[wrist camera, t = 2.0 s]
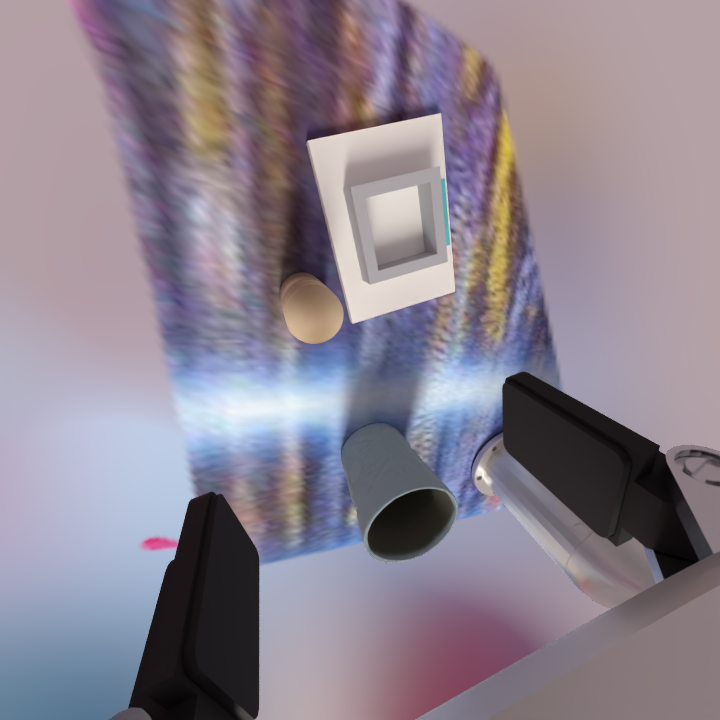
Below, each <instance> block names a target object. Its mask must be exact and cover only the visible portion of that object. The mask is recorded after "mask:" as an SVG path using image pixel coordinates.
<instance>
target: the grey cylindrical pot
mask: <svg viewBox="0 0 720 720" xmlns="http://www.w3.org/2000/svg"><path fill="white" fill-rule="evenodd" d="M341 460H342V465H343V468H344V472H345V475H346V479H347V483H348V487H349V491H350V495H351V498H352V502H353V505H354V508H355V510H356V511H357V519H358V522H359V527H360V531H361V535H362V539H363V543H364V547H365V549H366V551H367V552H368V553H369V555H370V556H371V557H373V558H374V559H376V560H379V561H381V562H405V561H408V560H412V559H414V558H416V557H418V556H421V555H423V554H425V553H426V552H428V551H429V550H431V549H432V548H434V547H435V546H436V545H438V544H439V543H440V542H441V541H442V540H443V539H444V538H445V536H446V535H447V534H448V533H449V531H450V530H451V528H452V526H453V525H454V523H455V520H456V517H457V512H458V505H457V501H456V499H455V496H454V495H453V494H452V492H451V491H450V490H449V489H448V488H447V487H446V485H445V484H444V483H443V482H442V481H441V480H440V479H439V478H438V477H437V475H436V474H435V473H434V472H433V471H432V470H431V468H430V467H429V466H428V465H427V464H425V463H424V462H423V461H422V459H421V458H420V457H419V456H418V455H417V453H416V452H415V450H413V449H412V448H411V447H410V444H409V443H408V442H407V440H406V439H405V438H404V437H403V436H402V435H401V433H400V432H399V431H398V430H397V429H395V428H394V427H393V426H391V425H388V424H385V423H374V424H368V425H367V426H364V427H362V428H360V429H358V430H357V431H356V432H354V433H353V434H352V435H351V436H350V437H349V439H347V441H346V442H345V444H344V446H343V449H342V456H341Z"/></svg>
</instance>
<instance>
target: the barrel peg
mask: <svg viewBox="0 0 720 720" xmlns="http://www.w3.org/2000/svg"><path fill="white" fill-rule="evenodd" d="M280 300H281V304H282V308H283V312H284V316H285V320H286V323H287V326H288V328H289V330H290V332H291V333H292V334H293V335H294V336H295V337H296V338H297V339H299V340H301V341H303V342H306V343H312V344H316V343H322V342H325V341H327V340H329V339H330V338H332V337H333V336H334V335H335V334H336V333H337V332H338V330H339V329H340V327H341V325H342V322H343V308H342V305H341V302H340V301H339V299H338V298H337V297H336V295H335V294H334V293H332V292H331V291H330V290H329V289H328V288H327V287H326V286H325V285H324V284H323V283H322V282H321V281H320V280H318V279H317V278H316V277H315V276H313V275H311V274H309V273H303V272H301V273H295V274H293V275H291V276H289V277H288V278H287V279H286V280H285V281H284V282H283V284H282V286H281V289H280Z"/></svg>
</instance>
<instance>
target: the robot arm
mask: <svg viewBox="0 0 720 720" xmlns="http://www.w3.org/2000/svg"><path fill="white" fill-rule="evenodd" d="M502 392H503V432H502V433H500V434H499V435H497V436H495V437H494V438H493V439H491V440H490V441H489V442H488V443H487V444H486V445H485V446H484V447H483V448H482V449H481V451H480V452H479V453H478V455H477V457H476V459H475V461H474V464H473V467H472V481H473V483H474V485H475V486H476V487H477V488H478V490H479V491H480V492H482V493H483V494H486V495H491V496H496V495H497V497H498V498H499V499H500V500H501V501H502V502H503V504H504V505H505V506H506V507H507V508H508V509H509V510H510V511H511V513H512V514H513V515H514V516H515V517H516V518H517V520H518V521H519V522H520V523H521V524H522V525H523V526H524V528H525V529H526V530H527V531H528V532H529V533H530V534H531V536H532V537H533V538H534V539H535V540H536V541H537V542H538V544H540V546H541V547H542V548H543V549H544V550H545V552H546V553H547V554H548V555H549V556H550V557H551V559H552V560H553V561H554V562H555V563H556V564H557V565H558V566H559V568H560V569H561V570H562V571H563V572H564V573H565V575H566V576H567V577H568V578H569V579H570V580H571V581H572V582H573V584H574V585H575V586H576V587H577V588H578V589H579V590H580V591H581V592H582V593H584V594H585V595H586V596H587V597H589V598H590V599H592V600H593V601H595V602H597V603H599V604H601V605H603V606H605V607H608V608H611V609H610V610H609V611H607V612H605V613H603V614H602V615H600V616H598V617H596V618H594V619H592V620H591V621H589V622H587V623H585V624H583V625H582V626H580V627H578V628H576V629H575V630H573V631H571V632H569V633H567V634H566V635H564V636H562V637H560V638H559V639H557V640H555V641H553V642H551V643H550V644H548V645H546V646H544V647H543V648H541V649H539V650H537V651H536V652H534V653H532V654H530V655H528V656H527V657H525V658H523V659H521V660H520V661H518V662H516V663H514V664H512V665H511V666H509V667H507V668H506V669H504V670H502V671H500V672H498V673H497V674H495V675H493V676H491V677H490V678H488V679H486V680H484V681H483V682H481V683H479V684H477V685H475V686H474V687H472V688H470V689H468V690H467V691H465V692H463V693H461V694H460V695H458V696H456V697H454V698H452V699H451V700H449V701H447V702H445V703H444V704H442V705H440V706H438V707H437V708H435V709H433V710H431V711H430V712H428V713H426V714H425V715H423V716H421V717H419V718H417V719H416V720H720V451H717V450H713V449H710V448H707V447H701V446H695V445H681V446H676V447H673V448H671V449H670V450H668V451H667V453H666V455H665V454H663V453H661V452H660V451H659V447H660V446H659V445H657V444H655V443H654V442H652V441H650V440H648V439H646V438H645V437H643V436H641V435H639V434H637V433H635V432H633V431H632V430H630V429H628V428H627V427H625V426H623V425H621V424H619V423H617V422H616V421H614V420H612V419H610V418H608V417H607V416H605V415H603V414H601V413H599V412H598V411H596V410H594V409H592V408H590V407H589V406H587V405H585V404H583V403H581V402H580V401H578V400H576V399H574V398H572V397H570V396H569V395H567V394H565V393H563V392H561V391H560V390H558V389H556V388H554V387H552V386H551V385H549V384H547V383H545V382H543V381H542V380H540V379H538V378H536V377H534V376H532V375H531V374H529V373H527V372H520V373H518V374H515V375H512V376H510V377H508V378H506V380H505V383H504V384H503V387H502ZM258 711H259V555H258V552H257V549H256V547H255V545H254V544H253V542H252V541H251V539H250V538H249V536H248V534H247V533H246V531H245V530H244V528H243V526H242V525H241V523H240V522H239V520H238V518H237V517H236V515H235V514H234V512H233V510H232V509H231V507H230V506H229V504H228V503H227V501H226V499H225V498H224V496H223V495H222V494H219V495H216V494H215V493H214V492H209V493H207V494H204V495H202V496H199V497H196V498H194V499H191V500H190V502H189V504H188V508H187V512H186V516H185V520H184V523H183V527H182V532H181V535H180V539H179V543H178V547H177V551H176V555H175V559H174V560H172V561H171V562H170V563H169V565H168V566H167V569H166V572H165V575H164V579H163V583H162V586H161V590H160V593H159V597H158V601H157V604H156V608H155V612H154V615H153V619H152V623H151V626H150V630H149V634H148V638H147V641H146V645H145V649H144V652H143V656H142V660H141V663H140V667H139V671H138V675H137V678H136V682H135V685H134V690H133V693H132V697H131V700H130V704H129V707H128V709H126V710H123V711H121V712H119V713H117V714H116V715H114V716H113V717H112V718H110V719H109V720H254V719H256V717H257V716H258Z"/></svg>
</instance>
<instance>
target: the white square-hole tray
mask: <svg viewBox="0 0 720 720" xmlns="http://www.w3.org/2000/svg"><path fill="white" fill-rule="evenodd" d="M306 144H307V148H308V152H309V156H310V160H311V164H312V168H313V173H314V177H315V181H316V185H317V189H318V193H319V197H320V201H321V205H322V209H323V213H324V217H325V221H326V225H327V229H328V233H329V237H330V241H331V245H332V249H333V253H334V258H335V262H336V266H337V270H338V274H339V278H340V282H341V286H342V290H343V294H344V298H345V302H346V306H347V310H348V314H349V318H350V321H351V323H352V324H353V323H357V322H360V321H363V320H366V319H369V318H372V317H376V316H379V315H382V314H385V313H388V312H392V311H395V310H398V309H401V308H404V307H408V306H411V305H414V304H417V303H420V302H423V301H427V300H430V299H433V298H436V297H439V296H443V295H446V294H449V293H452V292H455V283H454V271H453V258H452V246H451V233H450V220H449V208H448V195H447V183H446V170H445V157H444V145H443V132H442V120H441V113H439V114H434V115H429V116H425V117H420V118H415V119H410V120H405V121H400V122H396V123H391V124H386V125H381V126H376V127H371V128H366V129H362V130H357V131H352V132H347V133H342V134H337V135H332V136H328V137H323V138H318V139H313V140H308V141H307V143H306Z"/></svg>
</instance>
